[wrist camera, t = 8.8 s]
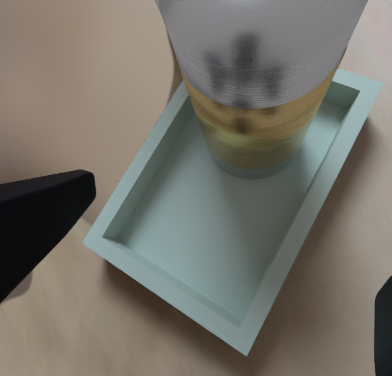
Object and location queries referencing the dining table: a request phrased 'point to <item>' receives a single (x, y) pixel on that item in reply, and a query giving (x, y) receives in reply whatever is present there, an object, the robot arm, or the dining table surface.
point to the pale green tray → (224, 213)
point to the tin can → (258, 72)
